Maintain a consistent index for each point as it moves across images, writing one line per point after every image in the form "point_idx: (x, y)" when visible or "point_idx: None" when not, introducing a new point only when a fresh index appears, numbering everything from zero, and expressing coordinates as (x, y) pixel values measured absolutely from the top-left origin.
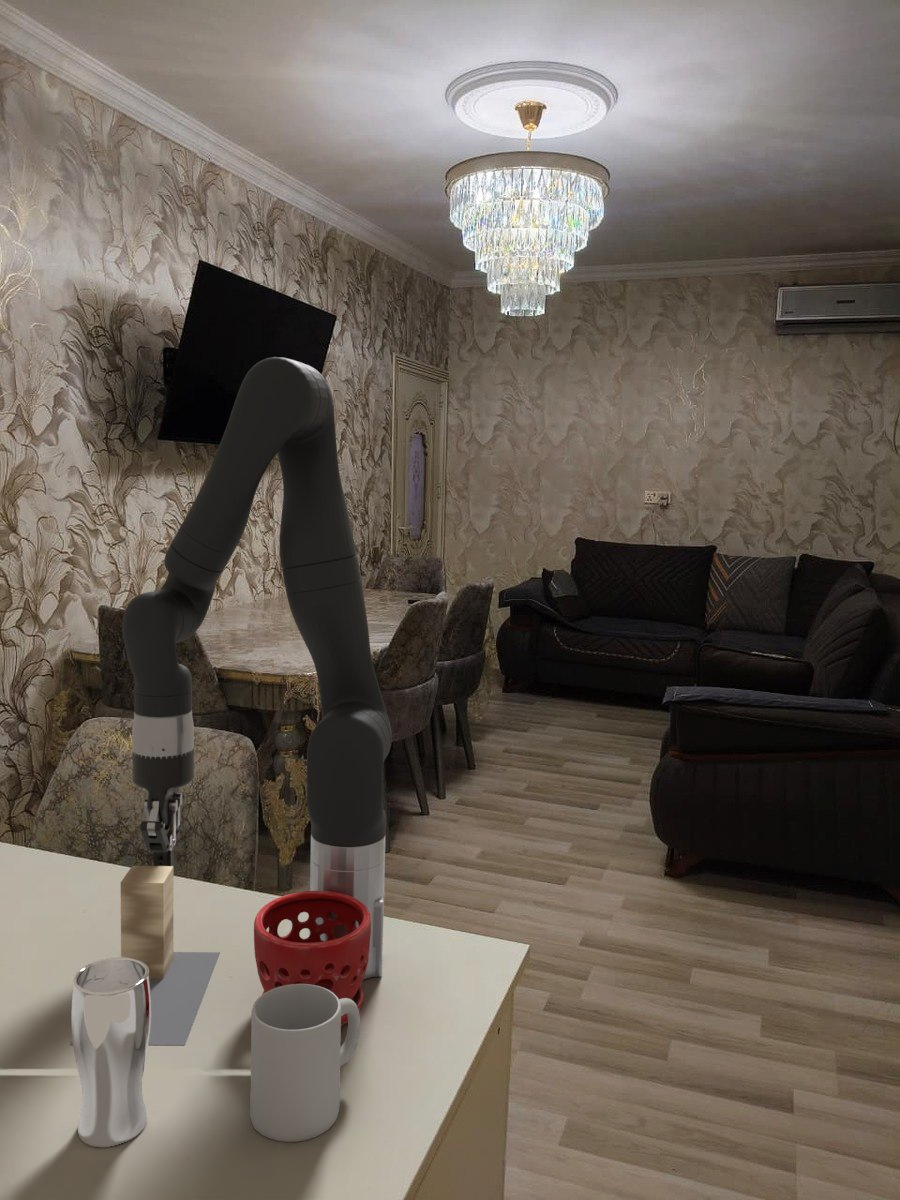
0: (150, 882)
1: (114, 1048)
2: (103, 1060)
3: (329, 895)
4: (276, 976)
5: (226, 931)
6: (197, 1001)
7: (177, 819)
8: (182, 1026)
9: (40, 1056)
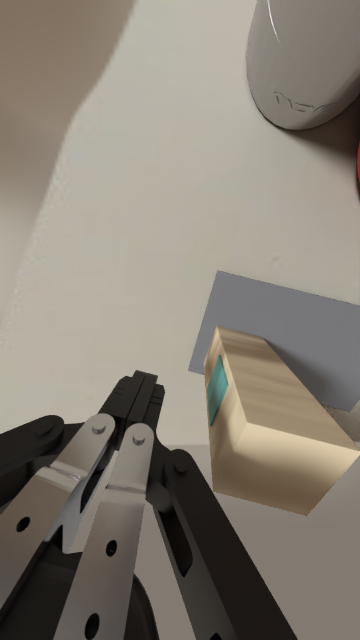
0: (340, 474)
1: None
2: None
3: None
4: None
5: (152, 258)
6: (330, 303)
7: (46, 538)
8: None
9: (344, 425)
